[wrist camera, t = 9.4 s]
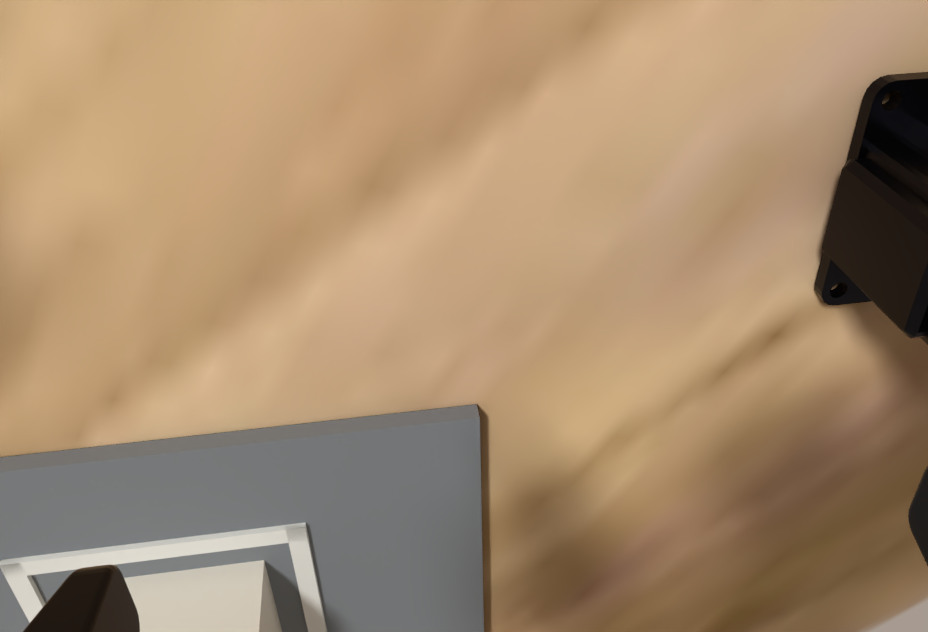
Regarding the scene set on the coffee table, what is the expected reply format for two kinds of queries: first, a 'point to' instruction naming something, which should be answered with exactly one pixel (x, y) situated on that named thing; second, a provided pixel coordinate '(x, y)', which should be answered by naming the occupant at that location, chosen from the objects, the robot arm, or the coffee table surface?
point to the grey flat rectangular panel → (266, 518)
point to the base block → (206, 600)
